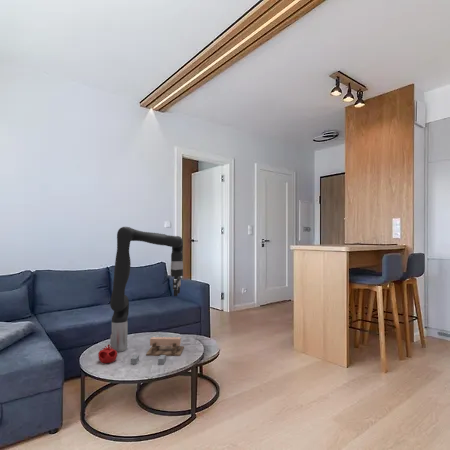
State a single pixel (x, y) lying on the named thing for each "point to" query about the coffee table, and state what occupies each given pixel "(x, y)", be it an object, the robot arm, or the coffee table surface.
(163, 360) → the blocks
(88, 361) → the coffee table surface
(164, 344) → the light wooden bar
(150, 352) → the rack
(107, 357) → the pomegranate
